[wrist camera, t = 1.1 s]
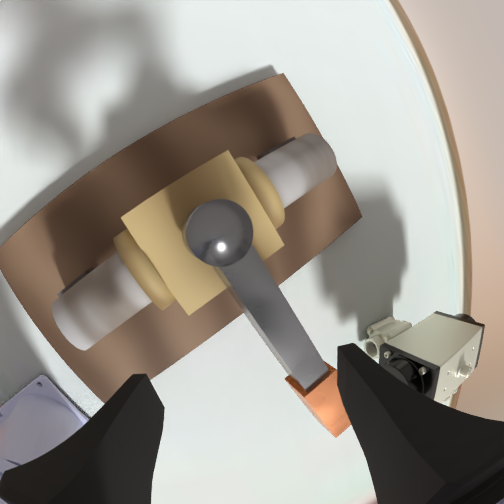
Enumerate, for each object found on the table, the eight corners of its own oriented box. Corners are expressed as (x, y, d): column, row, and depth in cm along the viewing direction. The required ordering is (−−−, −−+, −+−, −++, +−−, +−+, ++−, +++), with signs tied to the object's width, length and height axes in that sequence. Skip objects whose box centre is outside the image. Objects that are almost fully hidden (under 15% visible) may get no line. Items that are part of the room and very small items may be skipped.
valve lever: (169, 223, 12) (175, 223, 10) (218, 192, 13) (232, 185, 11) (315, 422, 16) (333, 439, 14) (344, 397, 17) (364, 412, 15)
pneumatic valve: (333, 334, 25) (436, 385, 14) (411, 298, 29) (499, 321, 18) (335, 381, 26) (422, 439, 15) (409, 339, 30) (489, 370, 19)
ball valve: (109, 399, 18) (105, 462, 11) (-1, 253, 14) (-55, 266, 8) (353, 216, 25) (417, 216, 18) (276, 78, 21) (325, 36, 14)
